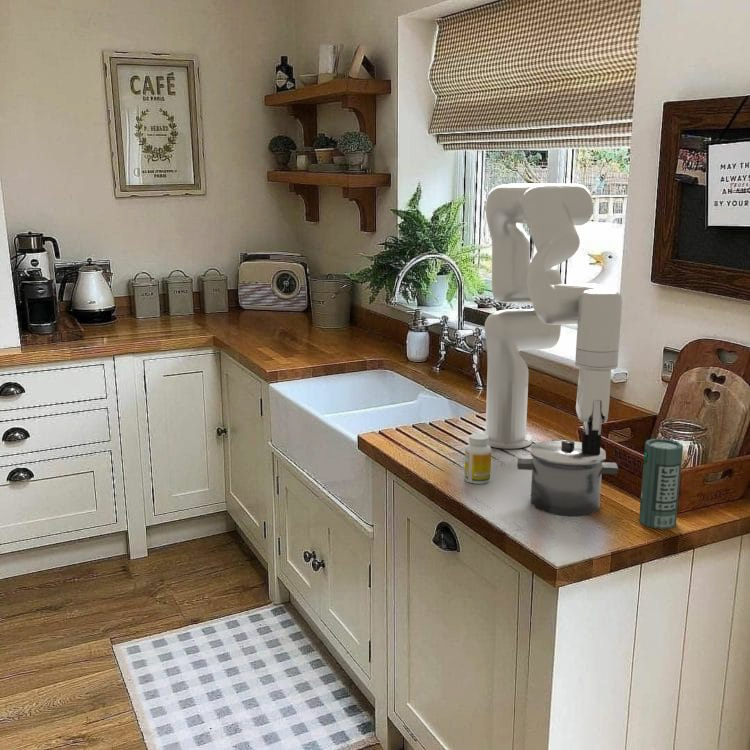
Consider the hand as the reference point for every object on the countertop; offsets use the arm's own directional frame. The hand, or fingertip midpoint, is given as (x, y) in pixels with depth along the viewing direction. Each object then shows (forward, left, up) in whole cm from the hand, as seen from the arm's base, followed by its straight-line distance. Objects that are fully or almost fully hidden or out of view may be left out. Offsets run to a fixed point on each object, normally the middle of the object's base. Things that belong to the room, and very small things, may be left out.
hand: (590, 453), depth 155 cm
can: (+5, +12, -11) cm, 17 cm away
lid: (-2, -4, -1) cm, 5 cm away
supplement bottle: (-12, -21, -11) cm, 27 cm away
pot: (-2, -4, -11) cm, 12 cm away
